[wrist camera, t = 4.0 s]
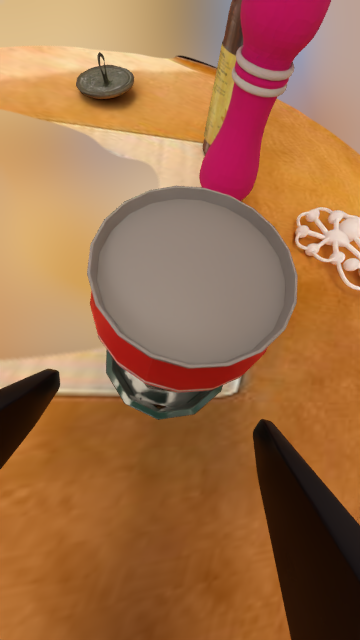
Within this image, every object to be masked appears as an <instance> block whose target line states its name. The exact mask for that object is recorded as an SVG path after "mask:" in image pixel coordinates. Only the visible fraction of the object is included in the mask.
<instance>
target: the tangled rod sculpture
mask: <svg viewBox="0 0 360 640" xmlns="http://www.w3.org/2000/svg"><path fill="white" fill-rule="evenodd" d="M319 211H326V212H327V213H329V214H330V215H329V217H328V222H329V223H330V224H334V229H333V230H330V231H328V230H327V229H326V228H325V226H324V225H323V224H322V223H321V221H320V220H319V219H318V217H319V215H320V212H319ZM304 215H306V220H307V221H308V222H313V221H314V222H315V224H316V225H317V226H318V227H319V229H320V230H321V231H322V232H323V234H324V235H323V234H320V233H317V232H314V231H311V230H309V228H308V226H306V225H302V226H301V225H300V218H301V217H302V216H304ZM341 219H345V220H344V221H343V222H341V223H340V224H339V221H341ZM296 221H297V226H298V228H297V229H296V232H295V235H296V238H295V243H296V245H297V246H298V247H299V248H301V249H305V253H306V255H308V256H314V257H315V258H316V259H318V260H320V261H322V262H330V263H331V264H334V265H337V270H338V273H339V275H340V277H341V279H342V280H343V282H344V283H345V284H346V285H347V286H349V287H350V288H352V289H356V290H360V287H359V286H355V285H353V284H351V283H350V282H349V281H348V279H347V278H346V277H345V275H344V272H343V270H342V267H341V263H342V262H343V261H344V259H345V254H344V253H343V252H339V249H338V246H339V247H346V248H347V249H348V250H349V251H350V252H352V253H353V254H354V255H355V256H356V257H357V258H358V259H360V252H359V251H358V250H356V249H355V248H354V247H353V246H352V245H351V244H349V243H350V242H352V241H355V243H356V244H357V246H358V247H359V248H360V239H359V237H360V218H359V217H357V216H354V215H348V214H346V213H345V212H343V211H339V210H336V211H332V210H330V209H328V208H324V207H319V208H316V209H312V210H310V211H309V212H304V213H301V214H300V215H299V216H298V217H297V220H296ZM306 235H310V236H313V237H316V238H319V239H322V241H321V242H320V243H318V244H316V243H312V244H309V245H308V246H307V247H306V246H303V245H301V244H300V243H299V240H298V239H299V238H303V237H305V236H306ZM324 244H327V245H332V246H333V254H331V255H330V257H329V259H324V258H322V257H320V256H319V255H317V253H318V252H319V249H320V247H321V246H323V245H324ZM358 259H355V258H351V259H348V260H346V261H345V262H344V263H343V269H344V270H346V271H354V270H356V269H359V271H358V273H359V276H360V261H359V260H358Z"/></svg>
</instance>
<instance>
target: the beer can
mask: <svg viewBox="0 0 360 640" xmlns="http://www.w3.org/2000/svg"><path fill="white" fill-rule="evenodd" d="M87 275H88V278H89V282H90V286H91V290H92V291H91V301H90V305H91V310H92V314H93V318H94V321H95V325H96V329H97V333H98V337H99V339H100V340H101V342H102V343H103V344H104V346H105V347H106V349H107V350H108V352H109V353H110V354H111V356H112V357H113V359H114V360H115V361H116V363H117V364H118V365H119V366H120V367H122V368H123V369H125V370H126V371H127V372H129V373H130V374H132V375H133V376H135V377H136V378H137V379H139V380H140V381H142V382H143V383H145V384H147V385H151V386H155V387H158V388H162V389H165V390H169V391H173V392H176V393H181V392H195V391H209V390H213V389H215V388H217V387H219V386H222V385H224V384H226V383H228V382H231V381H233V380H235V379H237V378H240V377H241V376H242V375H243V374H244V373H245V372H246V371H247V370H248V369H249V368H250V367H251V366H252V365H253V364H254V363H255V362H256V361H257V360H258V359H259V358H260V357H261V356H262V355H263V354H264V353H265V352H266V350H267V347H268V346H269V345H270V344H271V343H272V342H273V341H274V340H275V339H276V338H277V337H278V336H279V335H280V334H281V333H282V332H283V331H284V330H285V328H286V326H287V324H288V321H289V319H290V317H291V314H292V312H293V310H294V307H295V305H296V301H297V273H296V269H295V266H294V263H293V260H292V257H291V253H290V250H289V248H288V247H287V245H286V244H285V242H284V241H283V239H282V238H281V236H280V235H279V233H278V232H277V230H276V229H275V227H274V226H273V225H272V224H271V223H269V222H268V221H267V220H266V219H265V218H264V217H263V216H262V215H260V214H259V213H258V212H257V211H256V210H255V209H254V208H252V207H250V206H248V205H246V204H245V203H243V202H241V201H239V200H237V199H235V198H234V197H232V196H230V195H227V194H223V193H220V192H216V191H213V190H210V189H206V188H200V187H185V186H173V187H167V188H161V189H155V190H149V191H147V192H145V193H143V194H141V195H138V196H136V197H134V198H131V199H129V200H127V201H125V202H124V203H123V204H121V205H120V206H119V207H118V208H117V209H116V210H115V211H113V212H112V213H111V214H110V215H109V216H108V217H107V218H106V219H104V221H103V223H102V225H101V226H100V228H99V230H98V232H97V234H96V236H95V237H94V239H93V241H92V243H91V246H90V254H89V262H88V271H87Z"/></svg>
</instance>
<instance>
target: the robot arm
mask: <svg viewBox="0 0 360 640" xmlns="http://www.w3.org/2000/svg"><path fill="white" fill-rule="evenodd" d="M59 387H60V378H59V372H58V371H57V370H53V369H46V370H43V371H41V372H39V373H37V374H34V375H32V376H30V377H27V378H25V379H23V380H20V381H18V382H16V383H13V384H11V385H9V386H6V387H4V388H2V389H0V469H1V468H2V467H3V465H4V464H5V463H6V462H7V460H8V459H9V458H10V457H11V455H12V454H13V453H14V452H15V450H16V449H17V448H18V446H19V445H20V444H21V443H22V441H23V440H24V439H25V438H26V436H27V435H28V434H29V432H30V431H31V430H32V429H33V427H34V426H35V424H36V423H37V422H38V420H39V419H40V417H41V416H42V414H43V412H44V411H45V409H46V408H47V406H48V405H49V403H50V402H51V400H52V399H53V397H54V396H55V394H56V393H57V391H58V389H59ZM253 441H254V449H255V458H256V467H257V474H258V480H259V485H260V490H261V495H262V500H263V505H264V510H265V514H266V519H267V524H268V529H269V534H270V539H271V544H272V548H273V553H274V558H275V563H276V568H277V573H278V578H279V582H280V587H281V592H282V597H283V602H284V607H285V612H286V616H287V621H288V626H289V631H290V636H291V640H360V525H359V524H358V523H357V522H356V520H355V519H354V518H353V517H352V516H351V515H350V513H349V512H348V511H347V510H346V509H345V508H344V506H343V505H342V504H341V503H340V502H339V500H338V499H337V498H336V497H335V496H334V495H333V493H332V492H331V491H330V490H329V489H328V487H327V486H326V485H325V484H324V483H323V482H322V480H321V479H320V478H319V477H318V476H317V475H316V473H315V472H314V471H313V470H312V469H311V467H310V466H309V465H308V464H307V463H306V462H305V460H304V459H303V458H302V457H301V456H300V454H299V453H298V452H297V451H296V450H295V449H294V447H293V446H292V445H291V444H290V443H289V441H288V440H287V439H286V438H285V437H284V436H283V434H282V433H281V432H280V431H279V430H278V429H277V427H276V426H275V425H274V424H273V423H272V422H271V421H268V420H264V419H261V420H260V421H259V423H258V424H257V426H256V427H255V429H254V431H253Z"/></svg>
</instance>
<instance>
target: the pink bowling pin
mask: <svg viewBox="0 0 360 640" xmlns="http://www.w3.org/2000/svg"><path fill="white" fill-rule="evenodd" d="M330 2H331V0H242V3H241V13H240V18H241V27H242V34H243V46H241V47H240V48H239V49H238V50H237V53H236V62H235V66H234V68H233V70H232V78H233V80H234V86H233V91H232V96H231V100H230V104H229V107H228V110H227V113H226V117H225V119H224V121H223V124H222V126H221V128H220V130H219V132H218V134H217V136H216V138H215V139H214V141H213V142H212V144H211V146H210V147H209V149H208V151H207V153H206V155H205V157H204V159H203V162H202V166H201V169H200V183H201V186H202V188H206V189H210V190H213V191H216V192H220V193H223V194H227V195H230V196H232V197H234V198H235V199H237V200H239V201H241V200H242V199H244V198H245V197H246V196H247V195H248V194H249V193H250V191H251V190H252V188H253V185H254V183H255V180H256V177H257V172H258V168H259V158H260V147H261V140H262V136H263V132H264V128H265V125H266V122H267V119H268V117H269V114H270V111H271V109H272V107H273V105H274V103H275V101H276V98H277V96H279V95H281V94H283V93H284V91H285V90H286V87H287V82H288V79H289V77H290V76H291V75H292V73H293V71H294V65H293V62H292V61H293V60H294V58H295V57H296V56H297V55H298V53H299V52H300V51H301V50H302V49H303V48H305V46H307V44H308V43H309V42H310V41H311V40H312V39H313V37H314V36H315V34H316V32H317V31H318V29H319V27H320V25H321V23H322V21H323V19H324V17H325V15H326V12H327V10H328V7H329V5H330Z"/></svg>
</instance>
